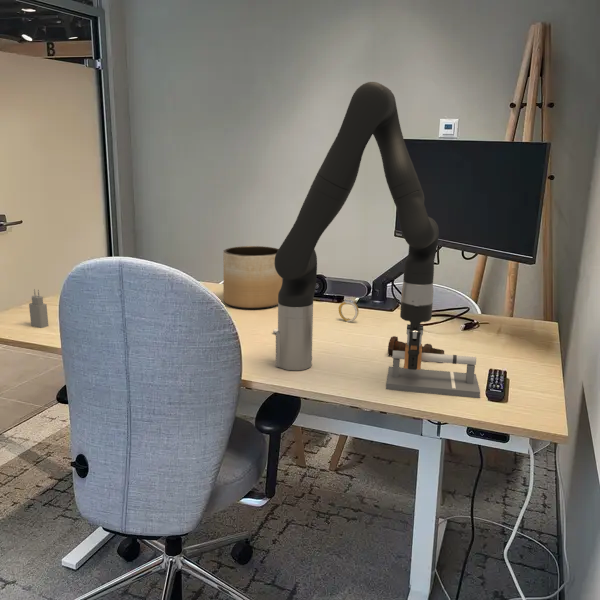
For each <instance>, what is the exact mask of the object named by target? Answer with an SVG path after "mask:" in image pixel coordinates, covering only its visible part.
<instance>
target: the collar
mask: <svg viewBox="0 0 600 600" xmlns="http://www.w3.org/2000/svg"><path fill="white" fill-rule="evenodd" d="M405 343H406V346H405V359H403V360H404V362H403V363H404V365H403V368H407V369H408V358H409V355H408V351H409V346H408V345H407V342H405ZM422 346H423V343H421V346H420V347H419V355H418V363H417V369H418V370H421V368H422V361H421V357H422ZM411 350H417V347H416V346H411Z"/></svg>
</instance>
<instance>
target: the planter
mask: <svg viewBox="0 0 600 600" xmlns="http://www.w3.org/2000/svg"><path fill="white" fill-rule="evenodd" d="M278 249H279V248H276V247H270V246H264V245H263V246H259V245H256V246H255V245H246V246H245V245H244V246H243V245H242V246H233V247H228V248H225V249H224V250H223V252H222V253H223V261H222V262H223V264H222V265H223V278H222V279H223V281H222V282H223V283H222V284H223V288H222V289H223V294H222V295H223V296H222V297H223V301H224V303H225V304H227V306H230V307H232V308H236V309H242V310H262V309H264V310H265V309H270V308H273V307H276V306H278V293H279V291H280V289H281V286H282V283H283V278H282V277H280V276H279V275H278V273H277V271H276V269H275V263H274V262H275V256H276V253H277V251H278Z"/></svg>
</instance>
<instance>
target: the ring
mask: <svg viewBox="0 0 600 600" xmlns="http://www.w3.org/2000/svg"><path fill="white" fill-rule="evenodd" d="M348 304H349V305H352V307H353V308H354V311H355V314H354V317H352V318H346V317H345V316H344V314H343V310H342V309H343V306H345V305H348ZM338 313H339V315H340V318H341V319H343V321H345V322H347V323H350V322H352V321H355V320H356V319H357V318H358V315H359V307H358V305H357V304H356V303H355V300H354V299H352V298H345V300H344V301H342V302H341V303H340V304H339V306H338Z"/></svg>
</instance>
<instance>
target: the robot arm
mask: <svg viewBox="0 0 600 600" xmlns="http://www.w3.org/2000/svg"><path fill="white" fill-rule="evenodd" d="M350 98H351V99H350V102H349V104H348V107H347V109H346V112H345V115H344V118H343V121H342V123H341V125H340V128H339V129H338V133H337V136H336V137H335V138H334V141H333V143H332V144H331V146H330V148H329V150H328V152H327V153H326V155H325V158H324V160H323V161H322V163H321V166H319V167H320V168H319V169H318V171H317V173H316V175H315V176H314V179H313V181H312V183H311V185H310V189H309V190H308V193H307V194H306V196H305V199H304V201H303V203H302V205H301V207H300V210H299V212H298V215H297V218H296V219H295V222H294V224H292V225H293V226H292V227H291V229H290V231H289V232H288V234H287V235H286V236H285V239H284V240H283V241H282V243H281V245H280V246H279V248H277V249H278V251H277V253H276V256H275V262H274V263H275V269H276V271H277V273H278V275H279V276H280V277H282V286H281V289H280V291H279V293H278V305H277V328H278V331H277V332H276V333H275V367H276V368H280V369H283V370H287V371H303V370H307V369H309V368H311V367H312V365H313V361H312V360H313V331H314V330H313V329H314V328H313V327H314V325H313V324H314V296H315V293H316V290H317V288H316V287H317V276H318V275H317V274H318V273H317V272H318V257H317V253H316V250H315V248H316V246H317V244H318V242H319V240H320V238H321V236H322V235H323V233H324V232H325V231H326V229H327V228H328V227H329V226H330V224H331V223H332V222H333V220H335V218H336V217H337V215H338V214H339V213H340V211H341V210H342V208H343V207H344V205H345V203H346V201H348V200H347V199H348V198H349V196H350V193H351V191H352V190H353V188H354V186H355V183H356V182H357V178H358V174H359V170H360V166H361V162H362V158H363V154H364V152H365V149H366V147H367V145H368V143H369V141H370V140H371V138H372V136H373V138H374V139H375V142H376V144H377V147H378V149H379V150H378V151H379V153H380V157H381V162H382V168H383V172H384V177H385V180H386V183H387V187H388V190H389V193H390V195H391V199H392V201H393V202H394V205H395V207H396V211H397V216H398V221H399V226H400V230H401V234H402V235H403V238H404V240H405V242H406V243H407V244H408V254H407V257H406V259H405V262H404V268H403V269H404V270H403V281H402V287H401V295H400V296H401V297H400V316H399V317H400V318H401V319H402V320H404V321H406V322H409V323H407V324H406V343H407V345H408V346H409V351H408V355H409V358H408V369H410V370H416V369H417V363H418V355H419V347H420V346H421V344H422V340H423V339H422V337H423V336H424V325H423V324H422V325H421V323H427V322H431V320H432V317H433V316H432V315H433V303H434V278H435V277H434V274H435V258H436V253H437V249H438V243H439V235H440V232H439V229H440V228H439V225H438V223H437V222H436V220H435V219H434V218H432V217H430V216H428V215H429V214H428V213H427V208H426V206H425V194H424V191H423V188H422V185H421V182H420V180H419V177H418V174H417V172H416V169H415V167H414V163H413V161H412V159H411V156H410V154H409V150H408V148H407V145H406V142H405V139H404V136H403V132H402V128H401V123H400V119H399V113H398V108H397V103H396V97H395V95H394V93H393V92H392V90H391V89H390V88H388V87H387V86H385V85H383V84H382V83H379V82H376V81H367V82H365V83H363V84H362V85H360V86H359V87H358V88H356V90H355V91H354V92H353V94H352V96H351V97H350ZM411 346H416V347H417V350H411Z"/></svg>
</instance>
